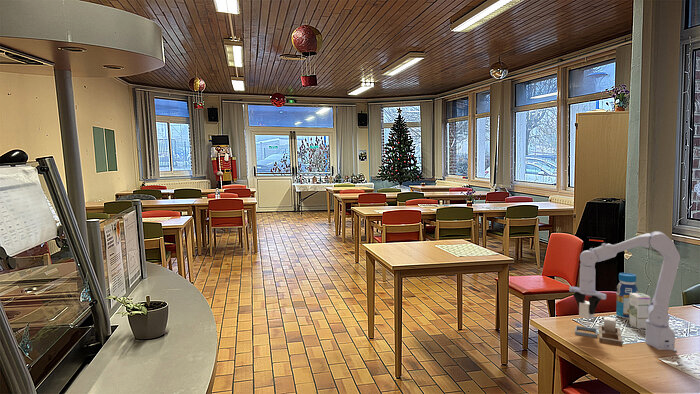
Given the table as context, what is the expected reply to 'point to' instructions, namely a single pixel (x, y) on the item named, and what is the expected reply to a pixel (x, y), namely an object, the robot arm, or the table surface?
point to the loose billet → (585, 310)
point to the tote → (587, 330)
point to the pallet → (610, 336)
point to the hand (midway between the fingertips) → (586, 312)
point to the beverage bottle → (625, 293)
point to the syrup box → (638, 309)
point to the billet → (609, 324)
